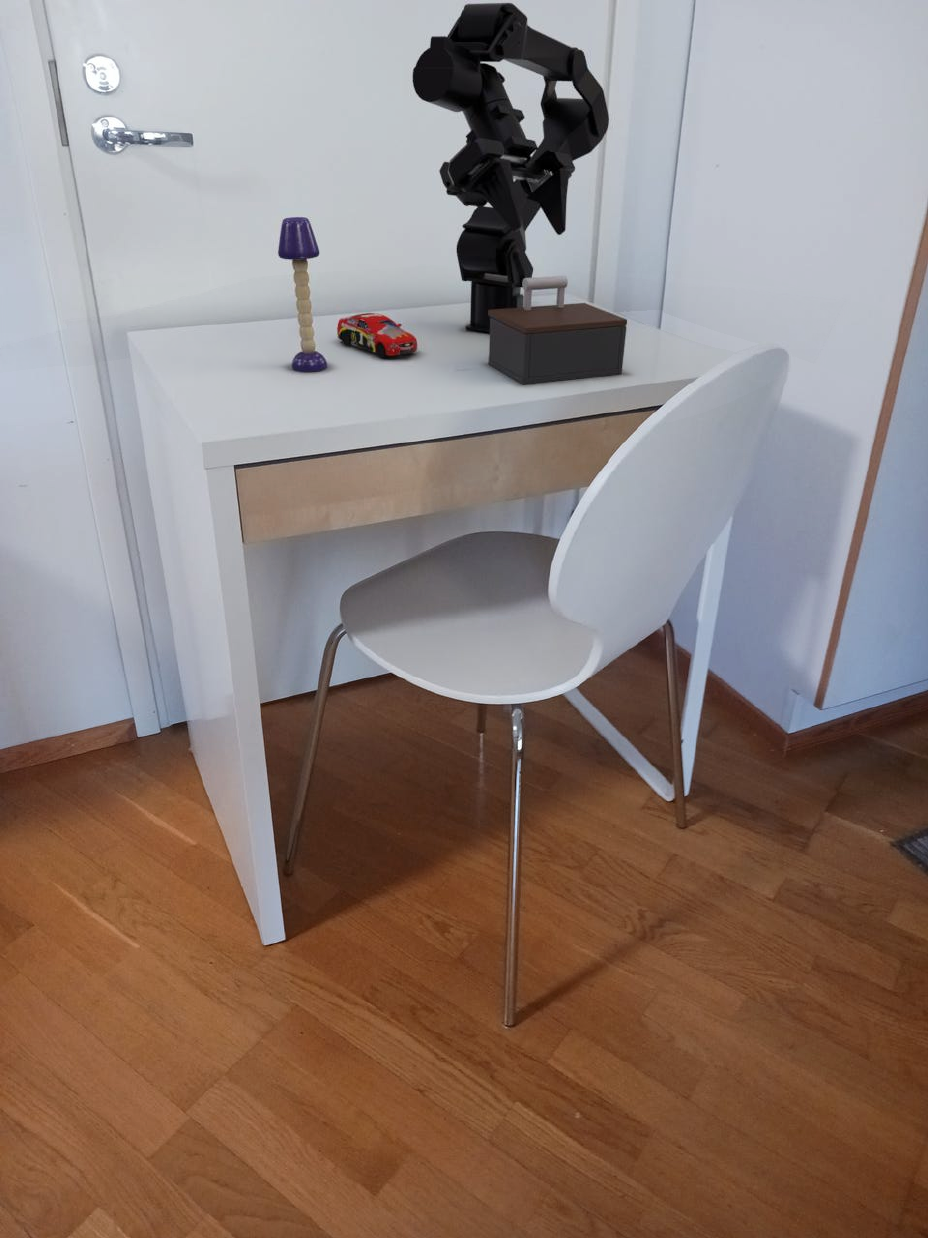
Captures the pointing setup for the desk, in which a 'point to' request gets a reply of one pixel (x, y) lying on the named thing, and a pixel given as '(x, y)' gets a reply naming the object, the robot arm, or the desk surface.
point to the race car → (376, 334)
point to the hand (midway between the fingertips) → (540, 231)
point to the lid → (554, 311)
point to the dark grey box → (556, 353)
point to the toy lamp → (302, 287)
